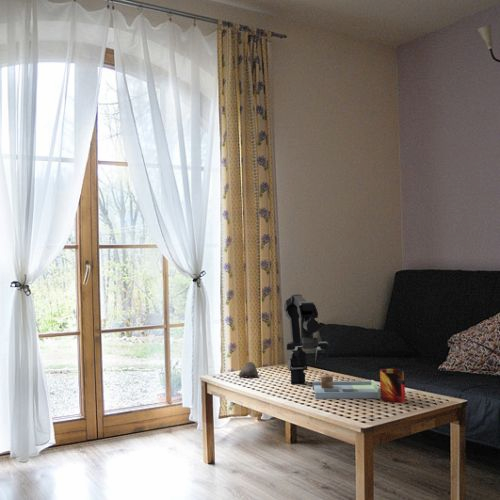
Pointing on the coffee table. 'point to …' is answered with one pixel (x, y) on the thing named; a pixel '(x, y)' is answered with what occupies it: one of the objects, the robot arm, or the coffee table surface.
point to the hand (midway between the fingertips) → (307, 365)
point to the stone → (248, 370)
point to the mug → (392, 385)
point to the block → (326, 381)
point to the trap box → (347, 390)
